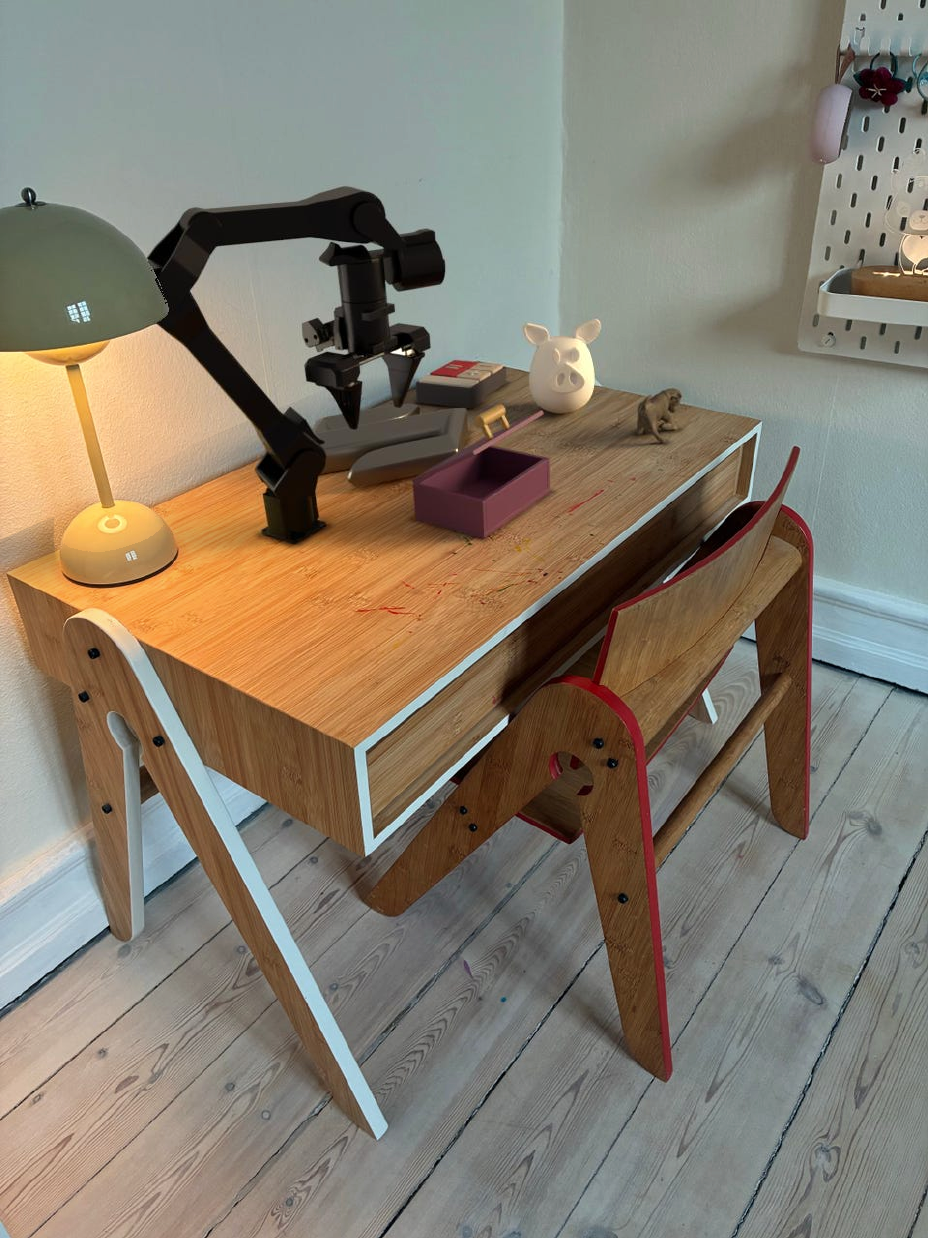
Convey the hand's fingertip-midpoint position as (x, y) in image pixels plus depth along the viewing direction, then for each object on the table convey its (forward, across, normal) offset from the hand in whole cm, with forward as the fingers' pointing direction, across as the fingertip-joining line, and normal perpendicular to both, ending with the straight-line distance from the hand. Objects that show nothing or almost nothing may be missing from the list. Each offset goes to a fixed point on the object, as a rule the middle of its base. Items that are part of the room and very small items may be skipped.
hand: (376, 417), depth 129 cm
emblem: (+13, -15, -12) cm, 23 cm away
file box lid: (+5, -7, +12) cm, 14 cm away
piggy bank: (+13, -44, +3) cm, 46 cm away
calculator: (+13, -44, -18) cm, 49 cm away
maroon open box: (+13, -7, +12) cm, 19 cm away
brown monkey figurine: (+13, -43, +21) cm, 50 cm away
